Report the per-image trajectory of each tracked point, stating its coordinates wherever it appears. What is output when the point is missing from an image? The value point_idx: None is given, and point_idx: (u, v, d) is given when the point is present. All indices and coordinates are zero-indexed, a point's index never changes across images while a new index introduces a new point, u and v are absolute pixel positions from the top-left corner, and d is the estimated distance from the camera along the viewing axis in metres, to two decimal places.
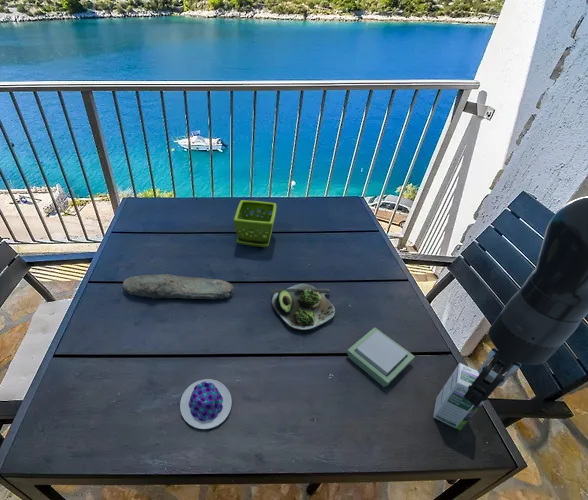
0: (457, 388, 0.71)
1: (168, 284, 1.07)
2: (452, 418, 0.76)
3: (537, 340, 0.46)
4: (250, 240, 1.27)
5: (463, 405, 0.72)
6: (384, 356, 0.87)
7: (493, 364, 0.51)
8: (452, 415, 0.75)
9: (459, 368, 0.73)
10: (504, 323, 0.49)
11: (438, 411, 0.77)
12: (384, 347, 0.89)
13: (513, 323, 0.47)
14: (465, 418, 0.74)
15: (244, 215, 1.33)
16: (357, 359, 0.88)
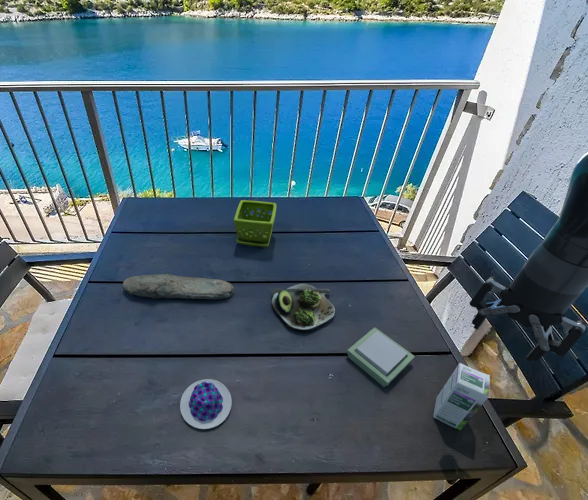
0: (457, 388, 0.71)
1: (168, 284, 1.07)
2: (452, 418, 0.76)
3: (526, 264, 0.53)
4: (250, 240, 1.27)
5: (463, 405, 0.72)
6: (384, 356, 0.87)
7: None
8: (452, 415, 0.75)
9: (459, 368, 0.73)
10: None
11: (438, 411, 0.77)
12: (384, 347, 0.89)
13: None
14: (465, 418, 0.74)
15: (244, 215, 1.33)
16: (357, 359, 0.88)
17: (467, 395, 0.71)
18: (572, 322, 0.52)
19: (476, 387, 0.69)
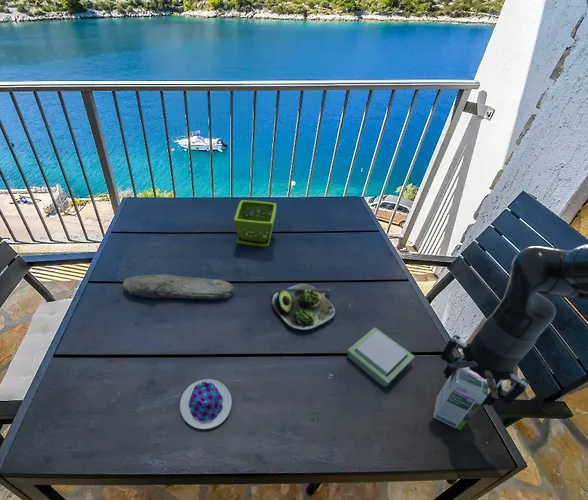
0: (456, 387, 0.71)
1: (168, 284, 1.07)
2: (452, 417, 0.76)
3: (480, 329, 0.64)
4: (250, 240, 1.27)
5: (462, 404, 0.72)
6: (384, 356, 0.87)
7: None
8: (452, 415, 0.75)
9: None
10: None
11: (438, 411, 0.77)
12: (384, 347, 0.89)
13: None
14: (465, 418, 0.74)
15: (244, 215, 1.33)
16: (357, 359, 0.88)
17: (466, 394, 0.71)
18: (518, 379, 0.63)
19: (475, 386, 0.70)
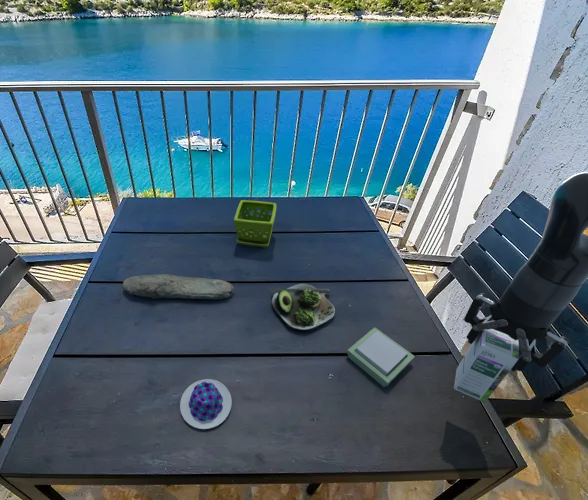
0: (482, 352, 0.64)
1: (168, 284, 1.07)
2: (476, 388, 0.68)
3: (512, 281, 0.56)
4: (250, 240, 1.27)
5: (488, 371, 0.65)
6: (384, 356, 0.87)
7: None
8: (476, 385, 0.68)
9: (483, 331, 0.66)
10: None
11: (460, 381, 0.70)
12: (384, 347, 0.89)
13: None
14: (491, 387, 0.66)
15: (244, 215, 1.33)
16: (357, 359, 0.88)
17: (493, 359, 0.63)
18: (556, 337, 0.56)
19: (504, 349, 0.62)
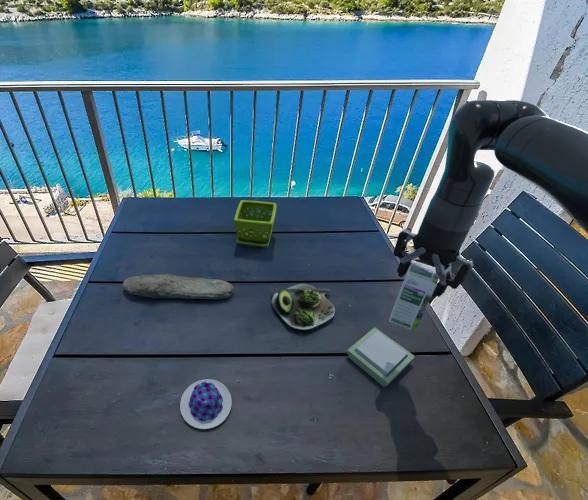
0: (407, 281, 0.70)
1: (168, 284, 1.07)
2: (406, 317, 0.75)
3: None
4: (250, 240, 1.27)
5: (414, 300, 0.72)
6: (384, 356, 0.87)
7: None
8: (406, 314, 0.75)
9: (410, 263, 0.72)
10: None
11: (392, 313, 0.77)
12: (384, 347, 0.89)
13: None
14: (418, 315, 0.73)
15: (244, 215, 1.33)
16: (357, 359, 0.88)
17: (417, 287, 0.70)
18: (464, 260, 0.63)
19: (425, 277, 0.69)
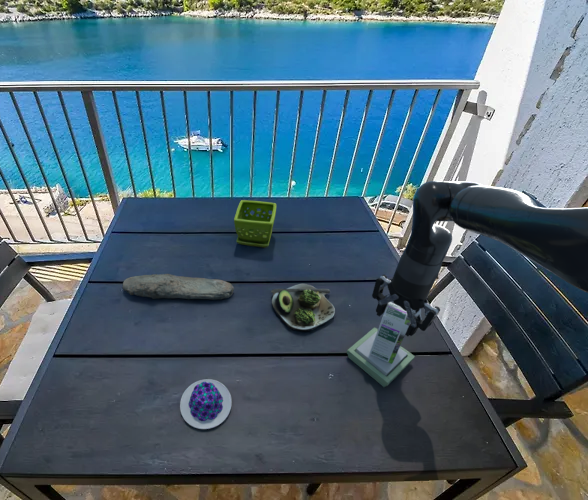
0: (384, 321, 0.80)
1: (168, 284, 1.07)
2: (384, 352, 0.84)
3: (398, 263, 0.73)
4: (250, 240, 1.27)
5: (390, 337, 0.81)
6: None
7: None
8: (383, 349, 0.84)
9: (387, 305, 0.82)
10: None
11: (372, 347, 0.86)
12: None
13: None
14: (394, 350, 0.83)
15: (244, 215, 1.33)
16: (357, 359, 0.88)
17: (392, 327, 0.79)
18: (430, 307, 0.72)
19: (399, 318, 0.78)
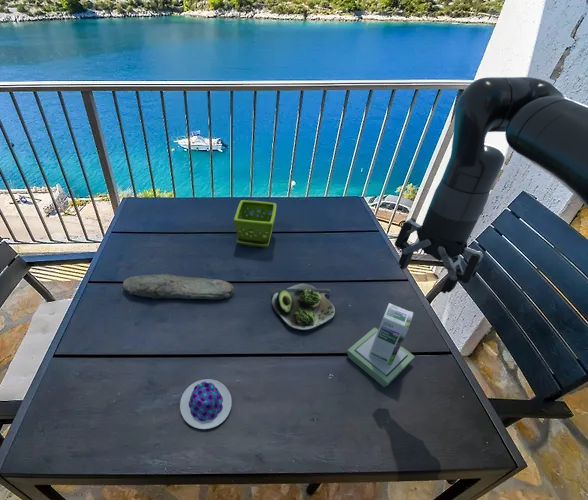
0: (384, 323, 0.80)
1: (168, 284, 1.07)
2: (384, 353, 0.85)
3: None
4: (250, 240, 1.27)
5: (390, 339, 0.81)
6: None
7: None
8: (383, 351, 0.84)
9: (387, 307, 0.82)
10: None
11: (372, 348, 0.86)
12: None
13: None
14: (393, 352, 0.83)
15: (244, 215, 1.33)
16: (357, 359, 0.88)
17: (392, 328, 0.79)
18: (472, 250, 0.59)
19: (399, 321, 0.78)
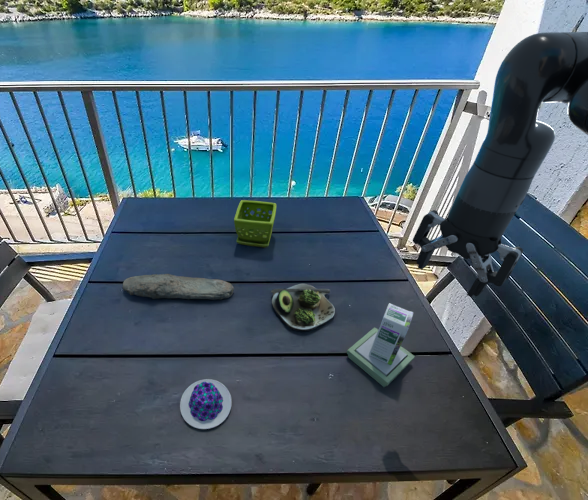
0: (384, 323, 0.80)
1: (168, 284, 1.07)
2: (384, 353, 0.85)
3: (460, 187, 0.50)
4: (250, 240, 1.27)
5: (390, 339, 0.81)
6: None
7: None
8: (383, 351, 0.84)
9: (387, 307, 0.82)
10: None
11: (372, 348, 0.86)
12: None
13: None
14: (393, 352, 0.83)
15: (244, 215, 1.33)
16: (357, 359, 0.88)
17: (392, 328, 0.79)
18: (508, 248, 0.50)
19: (399, 321, 0.78)
